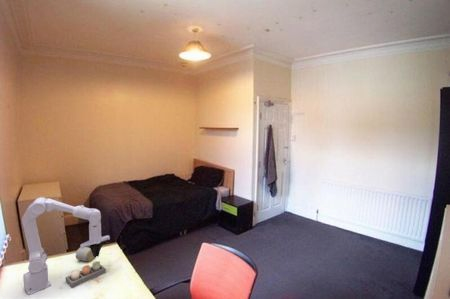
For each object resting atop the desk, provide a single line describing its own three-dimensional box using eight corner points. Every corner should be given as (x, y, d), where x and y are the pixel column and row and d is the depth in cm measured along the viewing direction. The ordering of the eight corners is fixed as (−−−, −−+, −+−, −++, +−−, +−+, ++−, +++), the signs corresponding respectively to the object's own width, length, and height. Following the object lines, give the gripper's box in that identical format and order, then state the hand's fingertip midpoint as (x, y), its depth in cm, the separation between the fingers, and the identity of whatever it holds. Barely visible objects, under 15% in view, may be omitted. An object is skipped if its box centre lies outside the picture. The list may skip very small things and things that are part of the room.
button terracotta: (84, 277, 127) (83, 269, 127) (81, 274, 130) (80, 267, 129) (91, 274, 130) (91, 266, 130) (88, 271, 132) (88, 264, 132)
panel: (71, 288, 121) (71, 283, 121) (65, 281, 126) (65, 277, 126) (106, 272, 134) (105, 268, 134) (99, 267, 139) (99, 263, 139)
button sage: (94, 272, 131) (94, 265, 131) (91, 270, 134) (91, 263, 133) (101, 269, 134) (101, 262, 134) (98, 267, 136) (98, 260, 136)
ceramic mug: (87, 264, 142) (86, 251, 142) (75, 262, 144) (75, 249, 144) (100, 255, 153) (100, 243, 152) (89, 253, 155) (88, 241, 154)
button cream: (73, 282, 123) (72, 274, 123) (70, 279, 126) (70, 271, 125) (80, 278, 126) (80, 271, 126) (77, 276, 128) (77, 268, 128)
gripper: (83, 238, 124) (84, 264, 125) (112, 229, 135) (112, 253, 136) (78, 235, 128) (79, 259, 130) (105, 226, 140) (106, 249, 141)
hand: (96, 256), depth 133 cm, fingers closed
